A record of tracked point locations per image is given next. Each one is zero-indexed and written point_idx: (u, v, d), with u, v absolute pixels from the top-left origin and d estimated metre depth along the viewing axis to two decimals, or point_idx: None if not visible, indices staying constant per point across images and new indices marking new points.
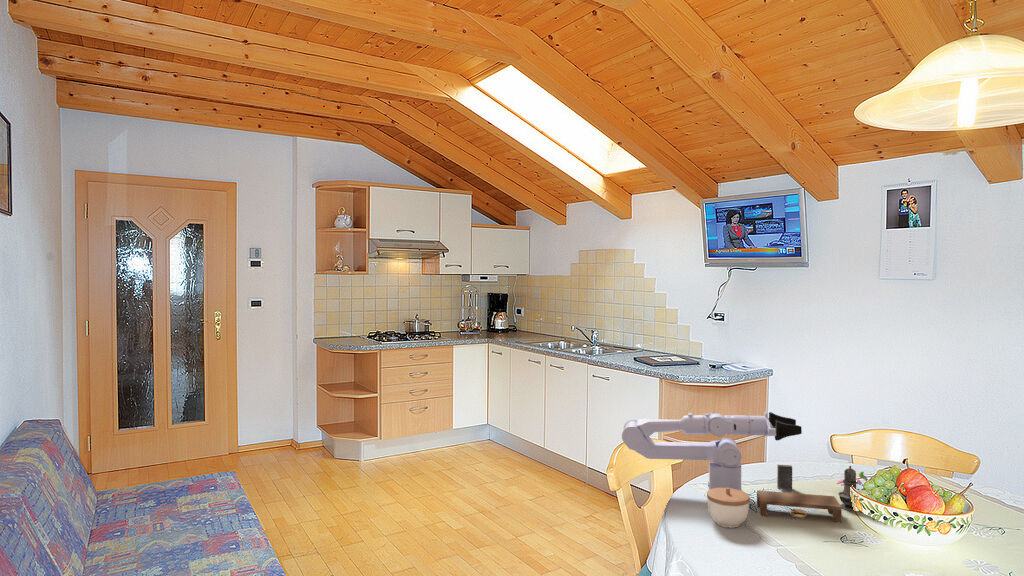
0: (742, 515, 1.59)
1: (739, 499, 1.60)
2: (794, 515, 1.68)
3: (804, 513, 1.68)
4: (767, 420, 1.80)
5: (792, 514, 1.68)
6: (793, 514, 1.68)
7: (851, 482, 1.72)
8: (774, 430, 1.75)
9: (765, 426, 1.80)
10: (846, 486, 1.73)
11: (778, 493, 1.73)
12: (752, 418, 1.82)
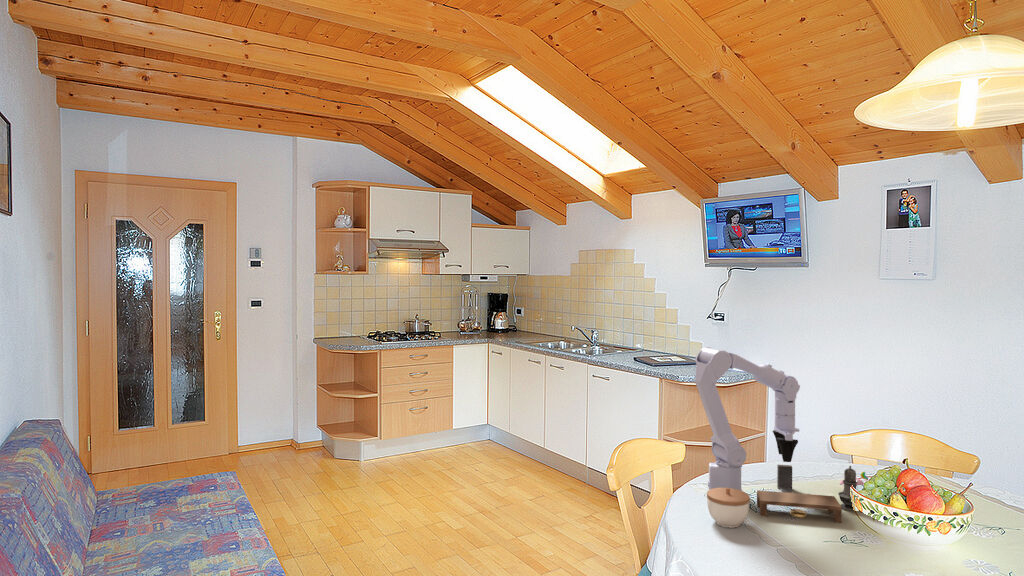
0: (742, 515, 1.59)
1: (739, 499, 1.60)
2: (794, 515, 1.68)
3: (804, 513, 1.68)
4: (794, 431, 1.86)
5: (792, 514, 1.68)
6: (793, 514, 1.68)
7: (851, 482, 1.72)
8: (791, 439, 1.82)
9: (788, 429, 1.86)
10: (846, 486, 1.73)
11: (778, 493, 1.73)
12: (794, 418, 1.87)
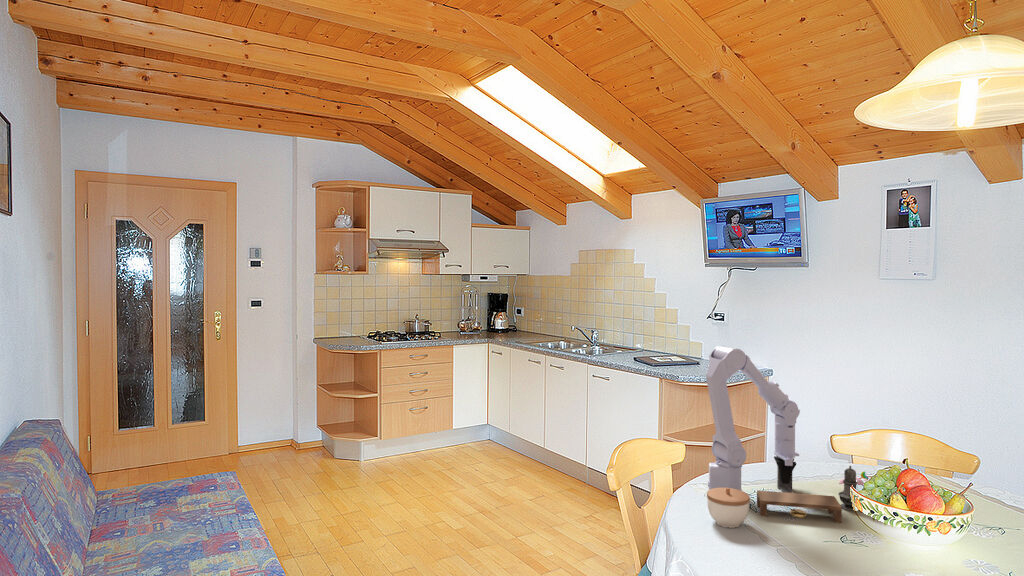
0: (742, 515, 1.59)
1: (739, 499, 1.60)
2: (794, 515, 1.68)
3: (804, 513, 1.68)
4: (794, 456, 1.86)
5: (792, 514, 1.68)
6: (793, 514, 1.68)
7: (851, 482, 1.72)
8: (791, 464, 1.82)
9: (788, 454, 1.86)
10: (846, 486, 1.73)
11: (778, 493, 1.73)
12: (794, 442, 1.87)
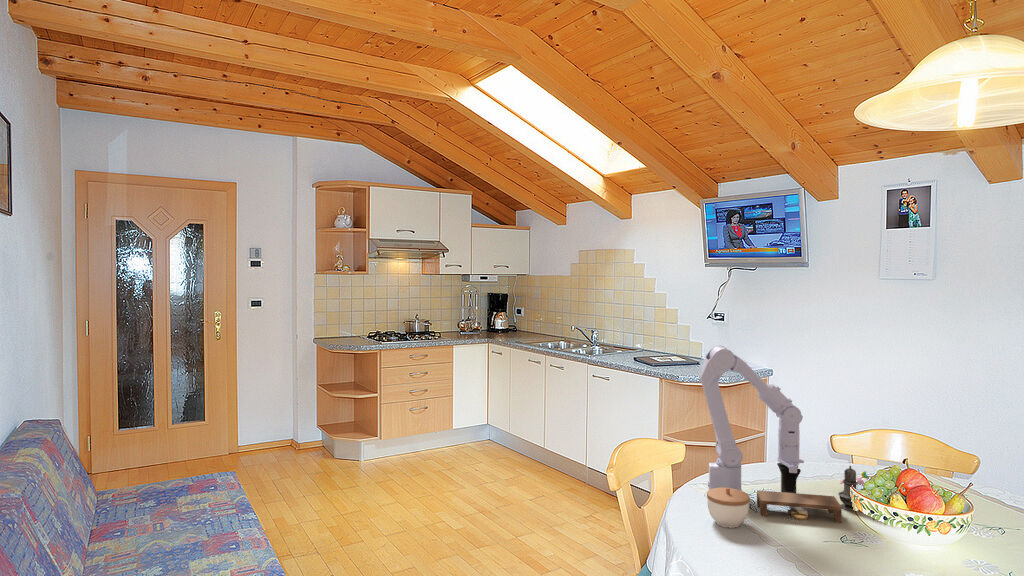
0: (742, 515, 1.59)
1: (739, 499, 1.60)
2: (796, 517, 1.66)
3: (806, 514, 1.66)
4: (798, 463, 1.80)
5: (794, 516, 1.67)
6: (795, 516, 1.66)
7: (851, 482, 1.72)
8: (795, 471, 1.76)
9: (792, 461, 1.80)
10: (846, 486, 1.73)
11: (778, 493, 1.73)
12: (798, 448, 1.81)
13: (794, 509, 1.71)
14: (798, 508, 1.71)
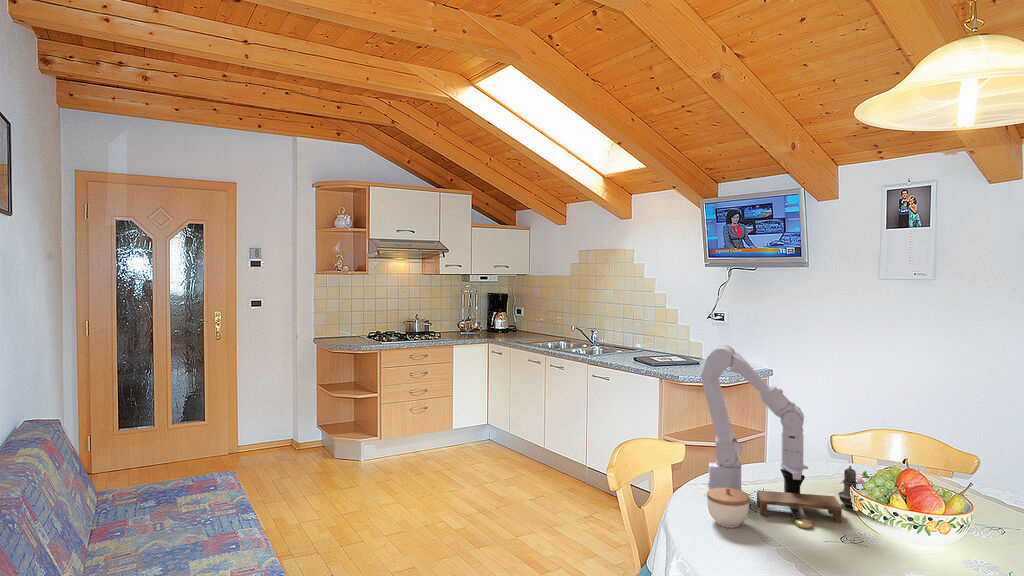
0: (742, 515, 1.59)
1: (739, 499, 1.60)
2: (800, 525, 1.60)
3: (810, 523, 1.61)
4: (802, 469, 1.74)
5: (798, 524, 1.61)
6: (799, 524, 1.61)
7: (851, 482, 1.72)
8: (799, 478, 1.70)
9: (796, 467, 1.74)
10: (846, 486, 1.73)
11: (778, 493, 1.73)
12: (802, 454, 1.75)
13: (798, 517, 1.65)
14: (802, 516, 1.66)
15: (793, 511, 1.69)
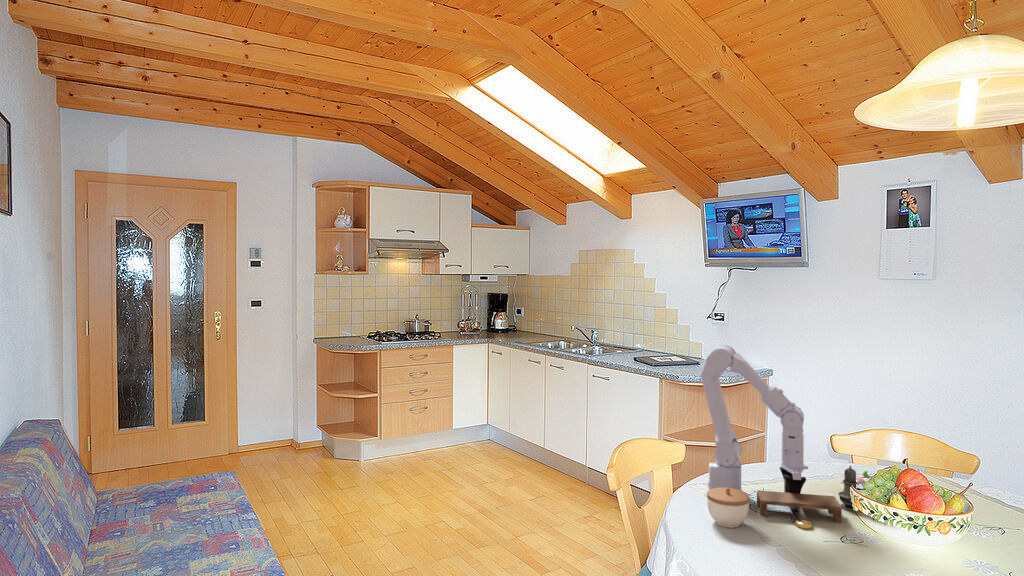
0: (742, 515, 1.59)
1: (739, 499, 1.60)
2: (800, 526, 1.60)
3: (810, 524, 1.60)
4: (802, 469, 1.74)
5: (798, 525, 1.61)
6: (799, 525, 1.61)
7: (851, 482, 1.72)
8: (799, 478, 1.70)
9: (796, 467, 1.74)
10: (846, 486, 1.73)
11: (778, 493, 1.73)
12: (802, 454, 1.75)
13: (798, 517, 1.65)
14: (802, 516, 1.66)
15: (793, 512, 1.69)
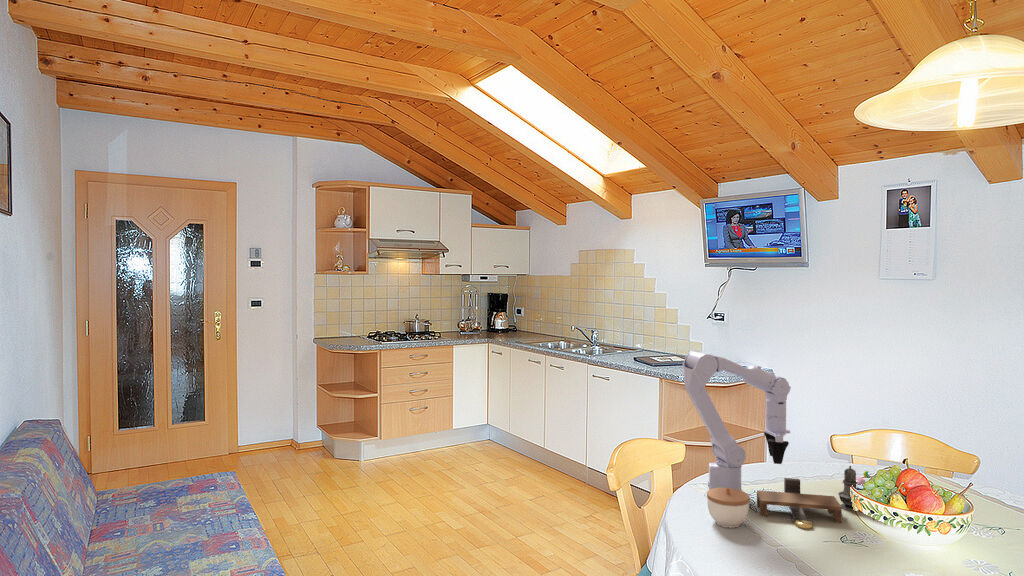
0: (742, 515, 1.59)
1: (739, 499, 1.60)
2: (800, 526, 1.60)
3: (810, 524, 1.60)
4: (785, 433, 1.84)
5: (798, 525, 1.61)
6: (799, 525, 1.60)
7: (851, 482, 1.72)
8: (781, 441, 1.80)
9: (779, 431, 1.84)
10: (846, 486, 1.73)
11: (778, 493, 1.73)
12: (785, 419, 1.85)
13: (798, 517, 1.65)
14: (802, 516, 1.66)
15: (793, 512, 1.69)
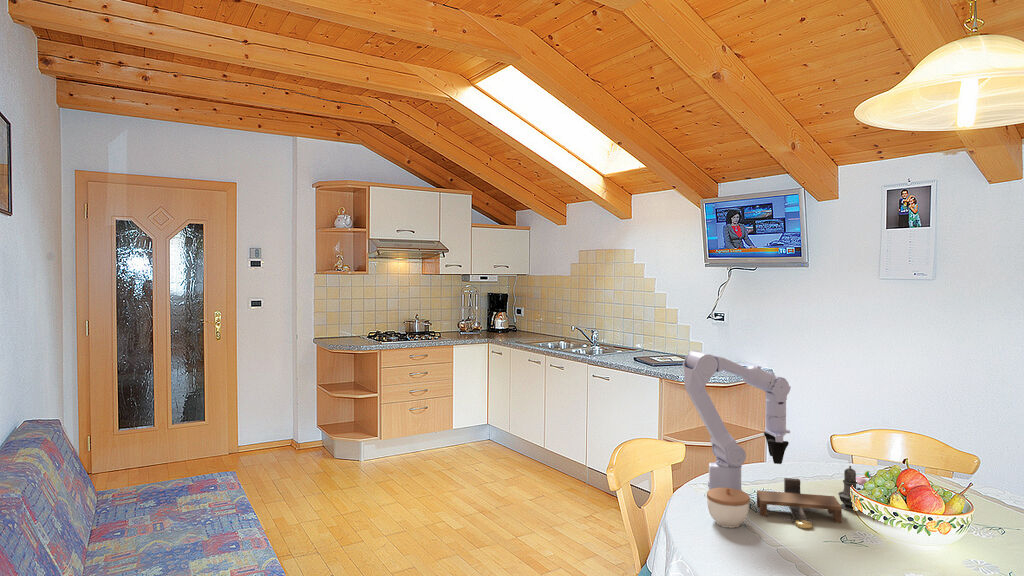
0: (742, 515, 1.59)
1: (739, 499, 1.60)
2: (800, 526, 1.60)
3: (810, 524, 1.60)
4: (785, 433, 1.84)
5: (798, 525, 1.61)
6: (799, 525, 1.60)
7: (851, 482, 1.72)
8: (781, 441, 1.80)
9: (779, 431, 1.85)
10: (846, 486, 1.73)
11: (778, 493, 1.73)
12: (785, 419, 1.85)
13: (798, 517, 1.65)
14: (802, 516, 1.66)
15: (793, 512, 1.69)
